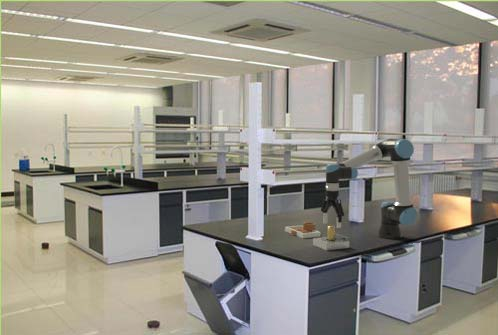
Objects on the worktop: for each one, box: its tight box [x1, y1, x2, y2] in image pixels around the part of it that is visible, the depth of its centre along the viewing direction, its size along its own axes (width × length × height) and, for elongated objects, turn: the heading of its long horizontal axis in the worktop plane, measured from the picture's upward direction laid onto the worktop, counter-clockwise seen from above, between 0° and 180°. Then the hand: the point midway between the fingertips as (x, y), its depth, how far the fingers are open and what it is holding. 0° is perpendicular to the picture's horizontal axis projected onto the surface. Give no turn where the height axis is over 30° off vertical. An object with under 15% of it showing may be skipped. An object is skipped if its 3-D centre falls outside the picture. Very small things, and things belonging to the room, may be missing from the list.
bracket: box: [290, 221, 316, 237], centre depth 296 cm, size 18×8×7 cm, turn 121°
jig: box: [312, 232, 350, 251], centre depth 262 cm, size 16×14×6 cm
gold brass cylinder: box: [326, 225, 336, 241], centre depth 262 cm, size 4×4×12 cm
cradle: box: [284, 224, 321, 239], centre depth 296 cm, size 13×23×3 cm, turn 24°
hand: (332, 225), depth 262 cm, fingers open, 13 cm apart
